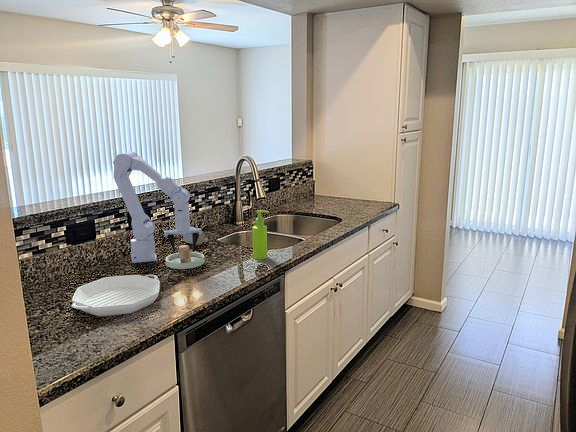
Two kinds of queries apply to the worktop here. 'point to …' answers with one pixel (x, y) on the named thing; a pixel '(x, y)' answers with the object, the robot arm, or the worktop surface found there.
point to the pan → (116, 295)
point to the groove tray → (175, 263)
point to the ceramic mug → (200, 240)
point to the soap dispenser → (260, 237)
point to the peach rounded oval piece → (183, 248)
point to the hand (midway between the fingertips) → (184, 251)
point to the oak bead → (185, 256)
